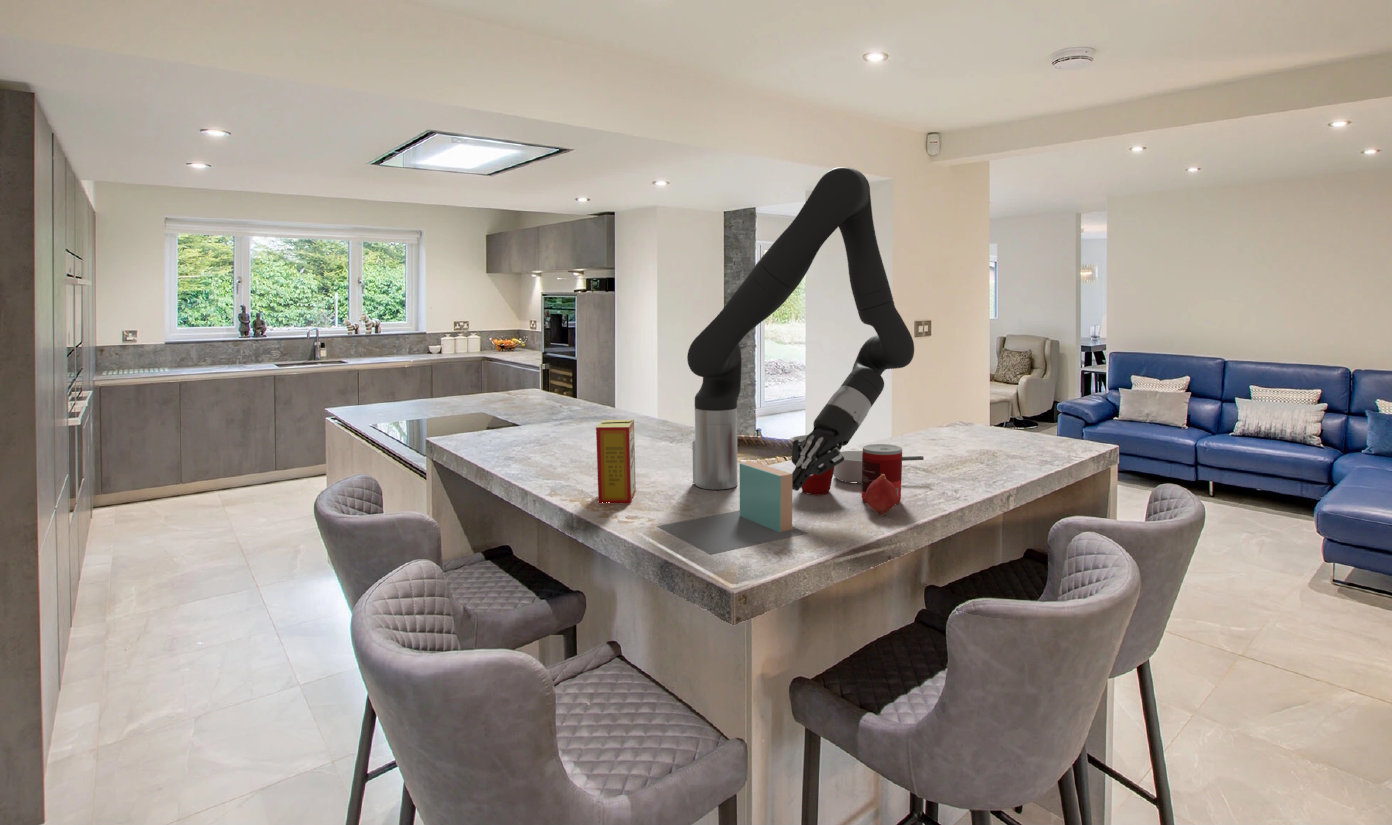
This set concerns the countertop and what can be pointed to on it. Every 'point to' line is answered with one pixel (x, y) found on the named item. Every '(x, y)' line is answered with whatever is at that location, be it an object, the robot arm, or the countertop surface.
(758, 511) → the tile
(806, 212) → the robot arm
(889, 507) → the onion
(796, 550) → the countertop surface
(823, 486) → the plastic cup
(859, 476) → the saucepan
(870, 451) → the canned food
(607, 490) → the baking soda box
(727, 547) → the mat
